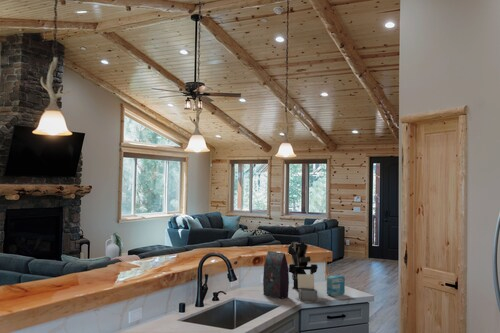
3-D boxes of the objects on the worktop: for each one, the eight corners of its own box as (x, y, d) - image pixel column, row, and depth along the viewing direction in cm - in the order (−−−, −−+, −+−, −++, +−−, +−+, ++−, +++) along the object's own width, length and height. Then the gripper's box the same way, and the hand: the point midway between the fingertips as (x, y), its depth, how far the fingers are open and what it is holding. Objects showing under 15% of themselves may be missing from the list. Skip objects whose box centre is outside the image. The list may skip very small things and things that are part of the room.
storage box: (298, 297, 283) (298, 288, 284) (314, 297, 284) (314, 288, 284) (300, 301, 275) (301, 291, 276) (316, 301, 276) (316, 291, 276)
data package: (331, 296, 289) (331, 277, 289) (326, 295, 292) (326, 276, 293) (344, 294, 295) (344, 276, 296) (339, 293, 299) (339, 274, 300)
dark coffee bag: (271, 292, 297) (272, 250, 298) (289, 297, 284) (289, 253, 286) (262, 294, 291) (263, 251, 293) (280, 299, 279) (280, 254, 280)
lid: (298, 287, 284) (297, 287, 285) (314, 287, 284) (314, 287, 286) (297, 274, 286) (297, 274, 287) (313, 274, 287) (313, 274, 288)
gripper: (289, 251, 295) (292, 271, 284) (317, 252, 297) (320, 271, 285) (287, 261, 303) (289, 281, 291) (314, 262, 304) (317, 281, 293)
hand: (304, 279), depth 290 cm, fingers open, 9 cm apart
